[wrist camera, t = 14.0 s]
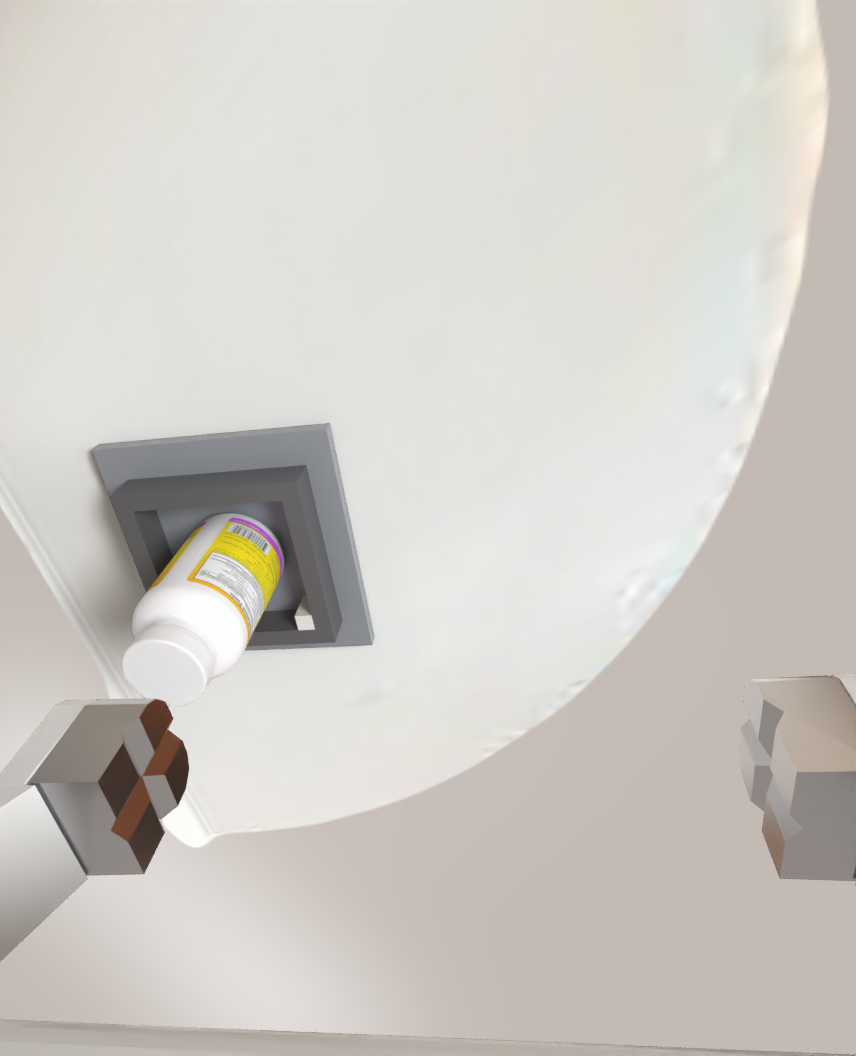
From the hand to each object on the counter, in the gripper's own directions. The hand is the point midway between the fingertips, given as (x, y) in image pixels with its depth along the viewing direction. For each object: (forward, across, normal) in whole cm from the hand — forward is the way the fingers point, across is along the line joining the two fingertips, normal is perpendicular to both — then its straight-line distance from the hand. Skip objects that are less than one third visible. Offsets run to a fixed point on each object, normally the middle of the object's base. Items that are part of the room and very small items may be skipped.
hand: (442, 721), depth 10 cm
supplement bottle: (+33, +19, +16) cm, 41 cm away
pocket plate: (+34, +19, +16) cm, 42 cm away
